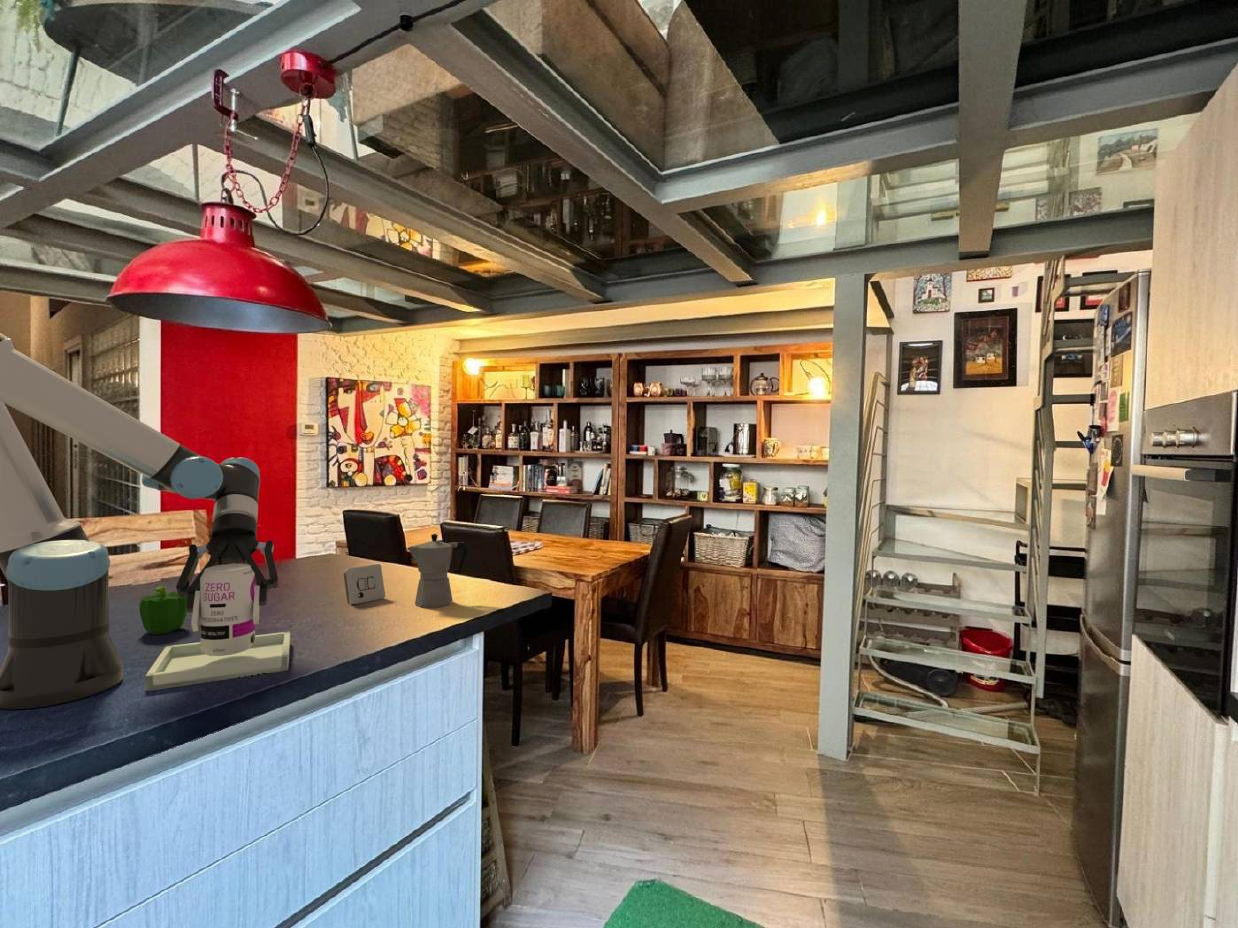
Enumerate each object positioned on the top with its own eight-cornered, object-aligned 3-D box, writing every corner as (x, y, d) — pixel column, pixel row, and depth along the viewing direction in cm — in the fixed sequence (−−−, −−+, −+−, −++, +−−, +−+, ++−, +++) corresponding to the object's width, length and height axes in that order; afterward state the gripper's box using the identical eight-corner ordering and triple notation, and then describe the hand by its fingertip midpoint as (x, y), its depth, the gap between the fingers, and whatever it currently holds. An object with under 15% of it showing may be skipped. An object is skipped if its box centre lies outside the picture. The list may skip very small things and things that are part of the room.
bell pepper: (161, 624, 128) (161, 580, 127) (197, 626, 127) (196, 581, 127) (127, 636, 119) (126, 589, 119) (164, 638, 119) (164, 590, 118)
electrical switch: (351, 606, 145) (349, 569, 146) (341, 604, 148) (339, 568, 149) (386, 599, 152) (384, 563, 153) (376, 597, 156) (374, 563, 156)
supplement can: (251, 639, 110) (251, 561, 110) (257, 650, 104) (257, 568, 104) (199, 647, 105) (198, 566, 105) (202, 660, 99) (202, 574, 99)
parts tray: (145, 691, 93) (145, 676, 93) (166, 659, 107) (166, 646, 107) (288, 670, 102) (288, 656, 102) (290, 643, 116) (290, 631, 116)
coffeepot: (407, 610, 142) (407, 537, 141) (406, 601, 150) (406, 532, 150) (471, 604, 147) (471, 534, 147) (466, 596, 156) (467, 530, 156)
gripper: (295, 531, 123) (294, 626, 109) (172, 537, 113) (154, 643, 99) (294, 508, 118) (293, 605, 104) (166, 513, 108) (146, 620, 94)
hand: (226, 623), depth 102 cm, fingers closed on supplement can, 8 cm apart
